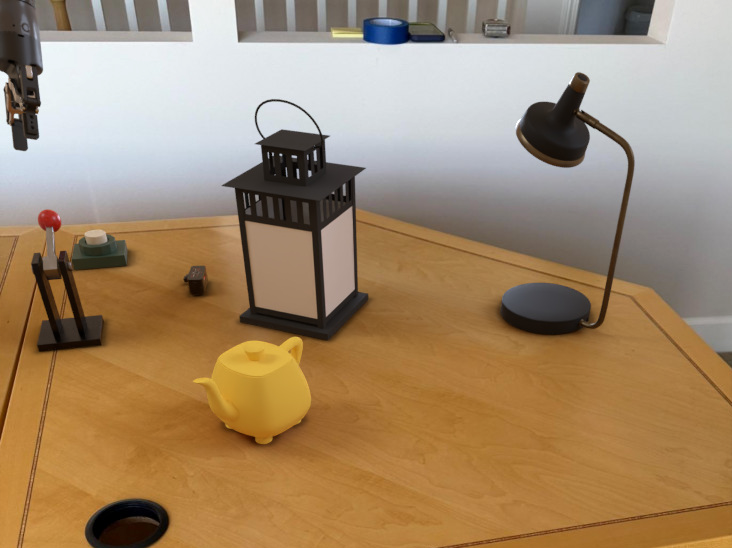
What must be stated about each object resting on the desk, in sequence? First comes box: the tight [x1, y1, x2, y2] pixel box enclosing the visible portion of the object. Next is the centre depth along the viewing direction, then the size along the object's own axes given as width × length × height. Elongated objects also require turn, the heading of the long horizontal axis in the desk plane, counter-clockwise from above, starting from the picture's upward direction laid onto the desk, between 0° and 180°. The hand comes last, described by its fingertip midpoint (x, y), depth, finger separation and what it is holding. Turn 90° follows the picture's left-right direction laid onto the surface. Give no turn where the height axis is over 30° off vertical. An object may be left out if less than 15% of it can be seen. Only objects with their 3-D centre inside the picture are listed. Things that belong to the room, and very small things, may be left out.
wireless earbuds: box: [182, 265, 209, 296], centre depth 146 cm, size 5×7×3 cm, turn 4°
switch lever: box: [37, 208, 63, 281], centre depth 126 cm, size 13×4×4 cm, turn 14°
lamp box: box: [71, 233, 129, 271], centre depth 155 cm, size 10×8×4 cm
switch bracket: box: [30, 250, 105, 352], centre depth 128 cm, size 9×10×14 cm
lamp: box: [499, 71, 636, 336], centre depth 127 cm, size 16×22×38 cm
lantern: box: [220, 98, 369, 341], centre depth 129 cm, size 17×17×35 cm
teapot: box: [192, 336, 312, 445], centre depth 109 cm, size 13×20×12 cm
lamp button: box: [84, 229, 107, 245], centre depth 153 cm, size 4×4×2 cm
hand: (26, 144), depth 131 cm, fingers open, 8 cm apart
